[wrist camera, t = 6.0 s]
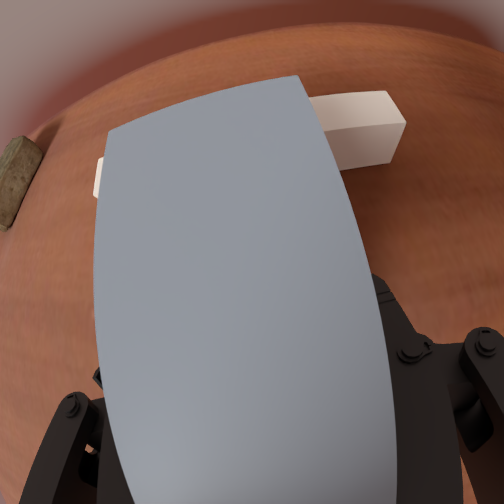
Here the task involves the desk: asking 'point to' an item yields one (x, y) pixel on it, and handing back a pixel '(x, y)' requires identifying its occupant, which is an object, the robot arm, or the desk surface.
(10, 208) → the stone block
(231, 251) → the blue-grey rectangular block
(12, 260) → the desk surface
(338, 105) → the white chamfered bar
